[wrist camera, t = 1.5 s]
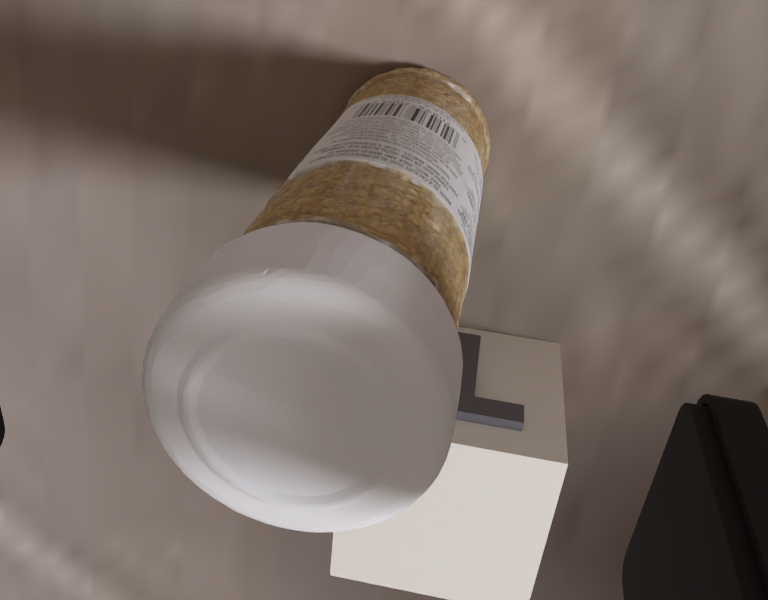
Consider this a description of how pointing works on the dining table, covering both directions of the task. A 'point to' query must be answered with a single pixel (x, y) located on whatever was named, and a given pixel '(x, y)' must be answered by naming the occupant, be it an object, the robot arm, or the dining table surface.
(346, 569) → the lettered cube
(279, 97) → the dining table surface
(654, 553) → the robot arm
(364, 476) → the sprinkles bottle
